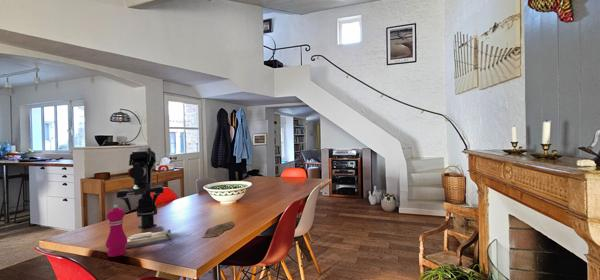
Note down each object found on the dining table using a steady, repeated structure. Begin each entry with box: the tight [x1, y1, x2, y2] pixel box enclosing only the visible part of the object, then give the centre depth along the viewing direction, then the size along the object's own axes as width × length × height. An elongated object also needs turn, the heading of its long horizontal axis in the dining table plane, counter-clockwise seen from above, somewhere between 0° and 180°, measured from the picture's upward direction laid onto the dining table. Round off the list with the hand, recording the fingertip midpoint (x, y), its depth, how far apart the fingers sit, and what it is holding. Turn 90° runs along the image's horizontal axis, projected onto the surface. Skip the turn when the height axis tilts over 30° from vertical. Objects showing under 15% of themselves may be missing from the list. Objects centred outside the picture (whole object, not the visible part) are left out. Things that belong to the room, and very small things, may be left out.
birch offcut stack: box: [125, 230, 167, 246], centre depth 121 cm, size 8×16×2 cm, turn 118°
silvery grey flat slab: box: [125, 229, 172, 249], centre depth 121 cm, size 8×20×2 cm, turn 118°
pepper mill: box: [105, 204, 128, 258], centre depth 109 cm, size 7×7×20 cm
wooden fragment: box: [202, 220, 236, 239], centre depth 136 cm, size 26×11×1 cm, turn 161°
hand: (141, 209), depth 127 cm, fingers open, 9 cm apart
